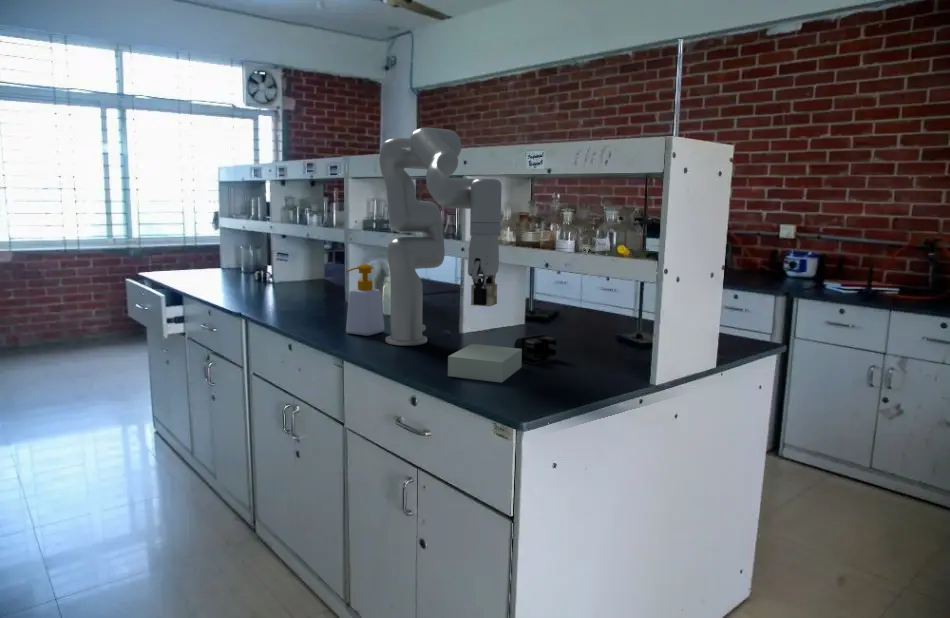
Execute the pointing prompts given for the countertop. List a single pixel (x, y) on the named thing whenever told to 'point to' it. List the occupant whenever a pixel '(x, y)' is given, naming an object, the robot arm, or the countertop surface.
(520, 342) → the end cap
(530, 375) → the countertop surface
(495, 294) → the maple cube
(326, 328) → the countertop surface
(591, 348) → the countertop surface
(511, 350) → the sage stand
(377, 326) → the soap bottle
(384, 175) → the robot arm
